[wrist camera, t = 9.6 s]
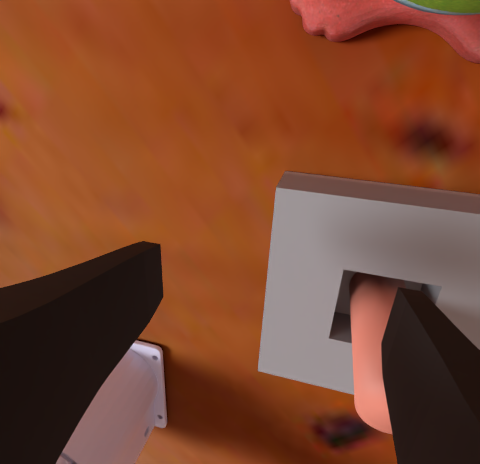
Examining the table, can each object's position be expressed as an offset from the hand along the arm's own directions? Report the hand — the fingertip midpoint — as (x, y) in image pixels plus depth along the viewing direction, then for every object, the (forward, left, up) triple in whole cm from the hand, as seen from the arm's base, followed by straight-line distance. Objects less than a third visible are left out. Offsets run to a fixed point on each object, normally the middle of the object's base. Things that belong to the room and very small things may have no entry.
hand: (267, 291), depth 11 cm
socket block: (-5, -5, -10) cm, 12 cm away
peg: (-5, -5, -9) cm, 12 cm away
